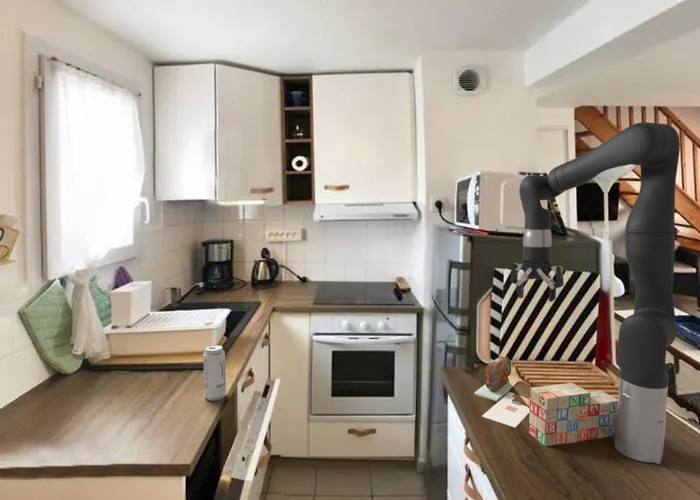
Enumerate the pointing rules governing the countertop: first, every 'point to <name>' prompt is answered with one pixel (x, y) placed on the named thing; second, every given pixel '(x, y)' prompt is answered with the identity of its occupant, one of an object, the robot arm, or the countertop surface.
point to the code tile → (507, 411)
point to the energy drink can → (214, 372)
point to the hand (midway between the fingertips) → (535, 299)
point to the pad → (493, 392)
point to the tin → (498, 373)
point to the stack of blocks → (570, 414)
